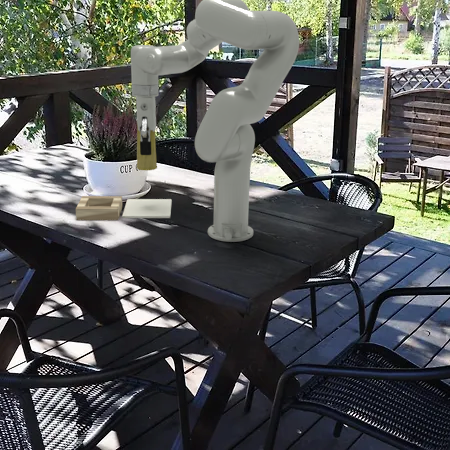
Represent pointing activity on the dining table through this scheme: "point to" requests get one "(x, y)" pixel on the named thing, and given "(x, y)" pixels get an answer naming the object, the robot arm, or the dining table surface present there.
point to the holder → (99, 208)
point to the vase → (146, 160)
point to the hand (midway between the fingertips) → (146, 151)
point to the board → (147, 208)
